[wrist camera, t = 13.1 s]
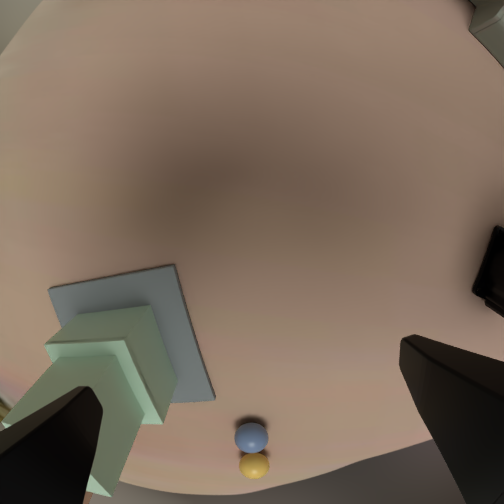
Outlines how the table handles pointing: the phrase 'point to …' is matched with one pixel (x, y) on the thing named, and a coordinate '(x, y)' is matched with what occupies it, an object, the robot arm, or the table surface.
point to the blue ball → (251, 437)
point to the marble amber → (254, 465)
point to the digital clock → (489, 26)
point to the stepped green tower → (108, 381)
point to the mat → (165, 312)
